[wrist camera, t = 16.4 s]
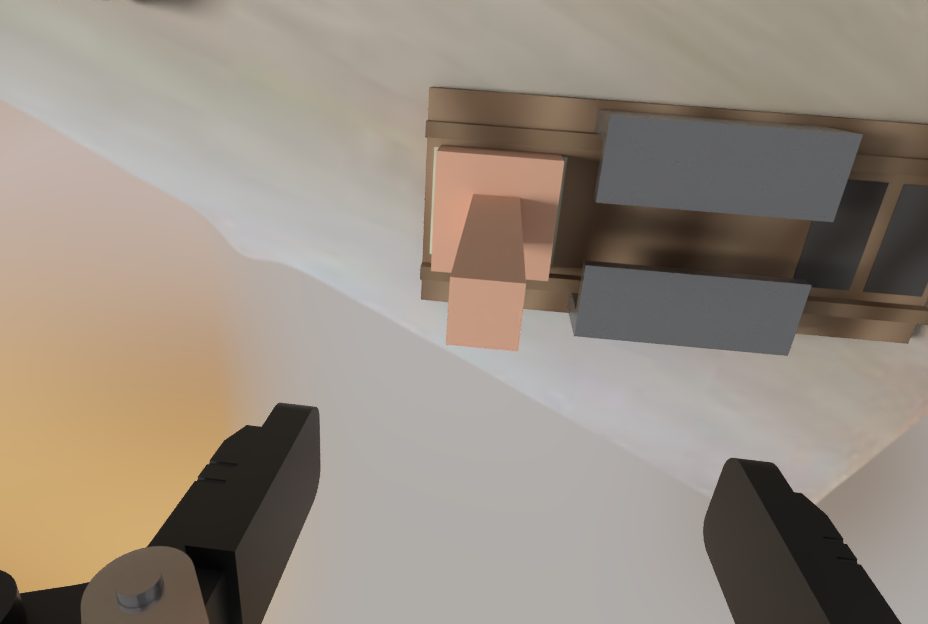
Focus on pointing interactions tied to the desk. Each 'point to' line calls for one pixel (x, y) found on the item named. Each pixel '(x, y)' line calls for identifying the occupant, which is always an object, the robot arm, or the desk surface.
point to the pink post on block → (492, 237)
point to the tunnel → (710, 190)
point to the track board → (713, 213)
